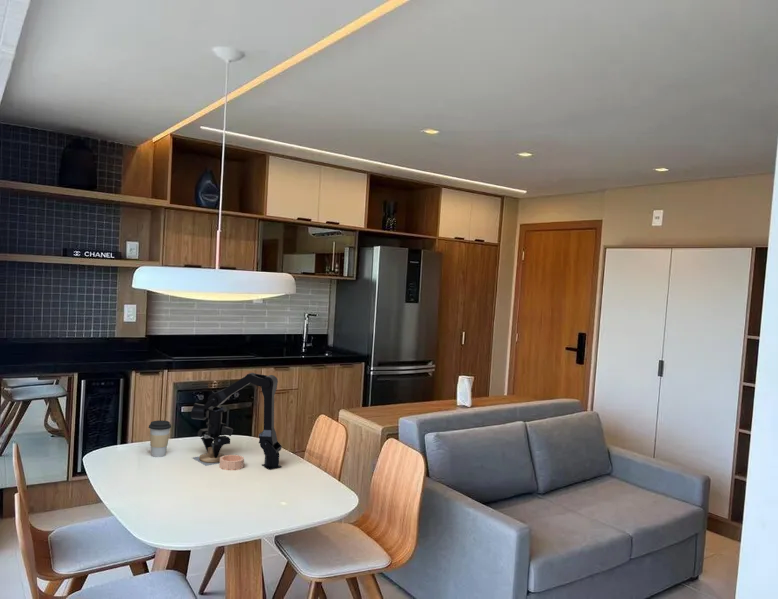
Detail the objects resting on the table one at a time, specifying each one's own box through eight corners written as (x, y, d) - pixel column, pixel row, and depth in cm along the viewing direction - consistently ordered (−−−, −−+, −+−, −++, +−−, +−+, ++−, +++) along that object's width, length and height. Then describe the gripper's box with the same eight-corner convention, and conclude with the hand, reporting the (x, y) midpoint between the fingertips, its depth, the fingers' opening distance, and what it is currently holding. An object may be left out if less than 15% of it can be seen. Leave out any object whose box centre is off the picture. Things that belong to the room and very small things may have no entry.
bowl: (247, 468, 253) (248, 459, 252) (226, 472, 245) (227, 463, 245) (235, 462, 260) (236, 453, 259) (215, 466, 252) (215, 456, 252)
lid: (229, 460, 260) (230, 448, 260) (206, 464, 252) (207, 452, 252) (217, 454, 268) (218, 443, 268) (194, 458, 260) (195, 446, 260)
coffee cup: (173, 456, 262) (176, 422, 261) (155, 460, 254) (157, 426, 253) (160, 451, 267) (162, 418, 266) (141, 455, 259) (144, 422, 258)
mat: (232, 461, 260) (232, 460, 260) (205, 466, 251) (205, 465, 251) (218, 454, 269) (218, 453, 269) (191, 458, 260) (191, 457, 260)
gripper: (242, 423, 259) (239, 458, 259) (220, 414, 272) (218, 448, 273) (219, 426, 251) (216, 462, 251) (198, 417, 264) (196, 451, 265)
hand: (212, 455), depth 260 cm, fingers open, 6 cm apart
